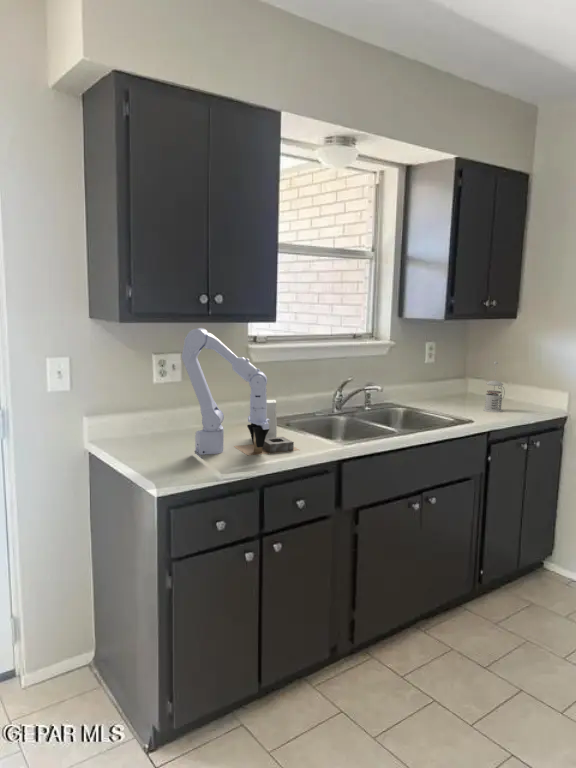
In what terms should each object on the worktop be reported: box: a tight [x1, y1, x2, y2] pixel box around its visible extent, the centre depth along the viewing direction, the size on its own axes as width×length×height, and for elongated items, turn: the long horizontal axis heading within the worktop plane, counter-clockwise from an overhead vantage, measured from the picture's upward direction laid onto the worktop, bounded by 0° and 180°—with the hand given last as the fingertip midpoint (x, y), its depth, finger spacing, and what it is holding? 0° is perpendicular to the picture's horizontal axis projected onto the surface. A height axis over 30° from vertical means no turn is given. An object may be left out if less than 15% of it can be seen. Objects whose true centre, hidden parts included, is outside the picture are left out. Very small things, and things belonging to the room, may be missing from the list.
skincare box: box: [266, 399, 278, 438], centre depth 226 cm, size 8×7×16 cm
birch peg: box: [254, 433, 262, 453], centre depth 205 cm, size 3×3×8 cm
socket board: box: [233, 436, 300, 456], centre depth 211 cm, size 20×14×4 cm
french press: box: [482, 361, 506, 413], centre depth 298 cm, size 10×12×25 cm
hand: (258, 445), depth 205 cm, fingers closed on birch peg, 3 cm apart
